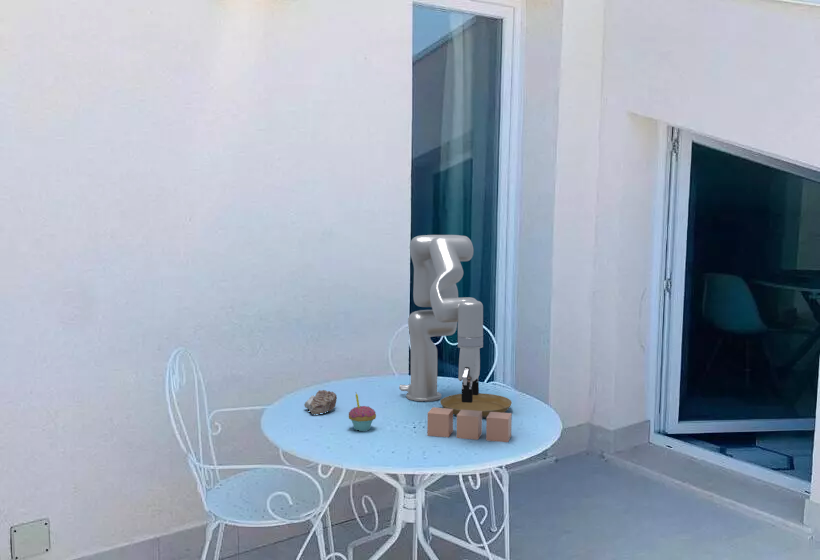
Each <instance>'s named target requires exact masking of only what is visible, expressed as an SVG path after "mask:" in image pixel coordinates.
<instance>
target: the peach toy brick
mask: <svg viewBox="0 0 820 560" xmlns="http://www.w3.org/2000/svg"><path fill="white" fill-rule="evenodd" d="M426 422H427V428H426V429H427V430H426V431H427V432H426V434H427V436H428V437H429V436H430V437H440V438H449V437H450V436H451V434H452V433H454V415H453V409H447V408H443V407H434V406H433V407H432V408H430V410H429V411H428V412H427V421H426Z"/></svg>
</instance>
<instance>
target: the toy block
mask: <svg viewBox="0 0 820 560" xmlns="http://www.w3.org/2000/svg"><path fill="white" fill-rule="evenodd" d="M482 434H483V418H482V411H474V410H460V412H459V413H458V414H457V415H456V439H464V440H465V439H466V440H477V441H478V440H479V438H480V437H481V436H482Z"/></svg>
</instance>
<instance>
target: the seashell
mask: <svg viewBox="0 0 820 560" xmlns="http://www.w3.org/2000/svg"><path fill="white" fill-rule="evenodd" d="M336 405H337V394H336V393H335V391H331V390H328V391H327V390H325V389H323V390H318V391H317V392H316V394H315V395H314V394H313V395H311V396H310V397H309V398H308V399H307V401H305V403H304V405H303V406H304V408H305V409H307V410H308V409H309V411H310V412H311V413H310V414H312V415H313V414H320V413H325V412H327V411H329V412H331V411H333V410H334V409H335V408H336ZM327 413H328V412H327ZM325 414H326V413H325Z"/></svg>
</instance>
